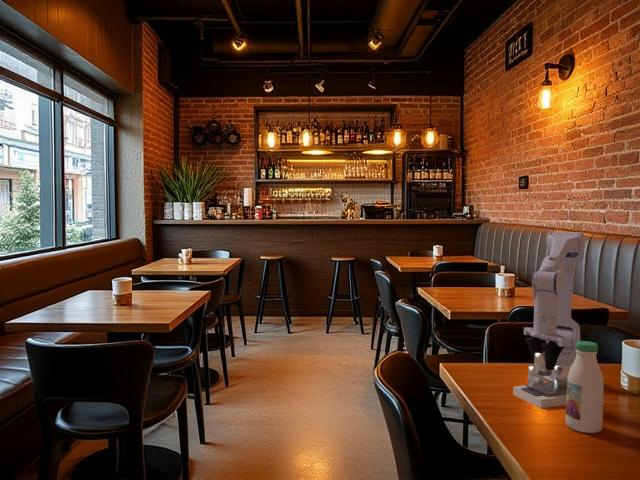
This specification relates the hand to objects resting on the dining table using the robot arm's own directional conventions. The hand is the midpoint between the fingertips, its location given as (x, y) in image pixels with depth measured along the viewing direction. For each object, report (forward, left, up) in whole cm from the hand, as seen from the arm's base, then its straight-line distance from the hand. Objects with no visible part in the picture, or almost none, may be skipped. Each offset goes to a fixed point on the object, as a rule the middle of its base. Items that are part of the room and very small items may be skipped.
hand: (543, 367), depth 151 cm
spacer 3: (-6, 0, -6) cm, 8 cm away
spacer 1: (0, 0, -2) cm, 2 cm away
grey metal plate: (-3, 0, -6) cm, 7 cm away
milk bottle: (+4, +19, -9) cm, 21 cm away
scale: (-2, 0, -9) cm, 9 cm away
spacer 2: (-6, -11, -9) cm, 15 cm away
